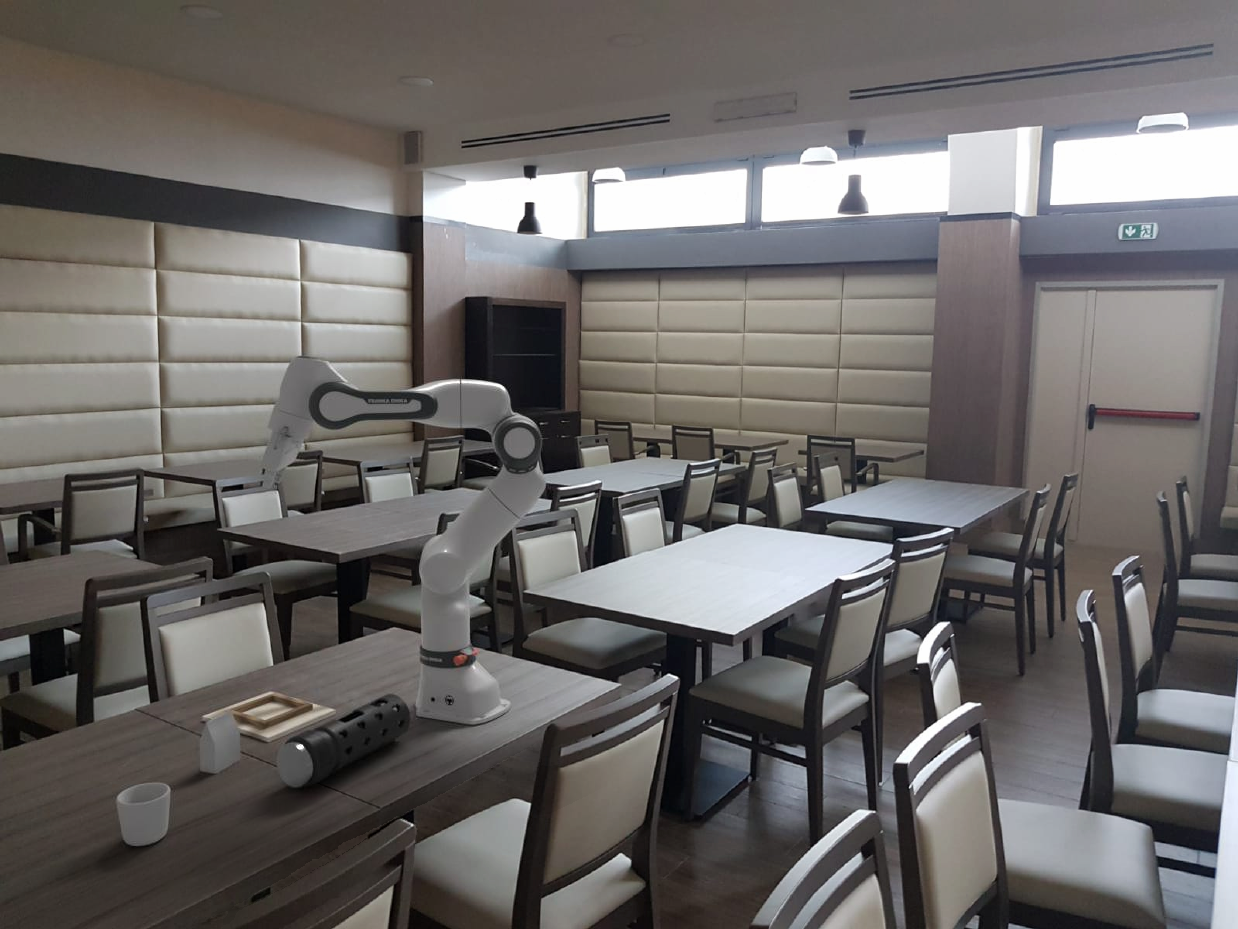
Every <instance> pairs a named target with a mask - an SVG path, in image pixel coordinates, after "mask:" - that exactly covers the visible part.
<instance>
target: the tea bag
mask: <svg viewBox="0 0 1238 929" xmlns="http://www.w3.org/2000/svg"><path fill="white" fill-rule="evenodd" d="M198 744H199V765H200V766H199V767H200V772H203V773H209V774H216V773H217V774H219V773H220V772H221V771H224V770H225V769H227V768H229V767H231V766H232V765H234V764H236V763H237V761H238V762H240V761H241V759H242V755H241V754H242V752H241V733H240V731H239V728H238V726H237V724H236V721H235V719H234V716H233V713H232V711H228V712H226V713H224V714H222V715H220V716H218V717H216V718H214V719H212V720H210V721H208V722H204V727H203V730H202V735H201V737H200V739H199V743H198ZM233 763H234V764H233Z"/></svg>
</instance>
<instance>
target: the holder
mask: <svg viewBox="0 0 1238 929" xmlns="http://www.w3.org/2000/svg"><path fill="white" fill-rule="evenodd" d="M228 711H232V713H233V716H234V719H235V721H236V724H237V726H238V728H239V731H240V734H243V735H245V736H249V737H251V736H252V738H254V739H257V740H260V739H261V740H260V741H264V742H267V743H271V742H273V741H275V740H277V739H280V738H282V737H285V736H287V735H290V734H292V733H294V732H297V731H299V730H301V729H304V728H305V727H308V726H312V725H313V724H315V723H319V722H320V721H323V720H325V719H327V718H329V717H333V716H334V715H337V714H336V712H337V710H336V709H334V708H330V707H327V706H324V705H319V704H316V703H312V702H309V701H306V700H303V699H299V698H295V697H292V696H290V695H289V696H288V695H285V694H281V693H278V692H275V691H268V692H264V693H262V694H259V695H257V696H254V697H251V698H248V699H246V700H243V701H240V702H237V703H235V704H231V705H229V706H227V707H224V708H220V709H218V710H216V711H213V712H211V713H208V714H207V713H206V714H204V715H202V722H204V723H206V722H208V721H210V720H212V719H214V718H216V717H218V716H220V715H222V714H224V713H226V712H228Z"/></svg>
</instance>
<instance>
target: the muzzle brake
mask: <svg viewBox="0 0 1238 929" xmlns="http://www.w3.org/2000/svg"><path fill="white" fill-rule="evenodd" d="M394 708H396V710H395V709H394ZM410 726H411V713H410V709H409V707H408V705H407V703H406V702H405V701H404V699H403V698H401V697H400V696H398V694H394V693H389V694H388V693H387V694H385V695H383V696H381V697H379V698H377V699H373V700H372V701H370V702H368V703H365V704H363V705H361V706H360V707H356V708H355V709H353V710H351V711H349V712H346V713H344V714H342V715H340V716H338V717H335V718H334V719H331V720H329V721H327V722H325V723H323V724H321V725H319V726H316V727H315V728H313V729H307V730H305V731H302V732H300V733H298V734H296V735H294V736H292V737H290V738H288V739H287V740H286V741H285V743H284V744H283V745H282V746H281V747H280V748H279V749H278V751H277V753H276V756H275V757H276V758H275V764H276V765H275V766H276V769H277V772H278V775H279V777H280V778H281V780H282V781H283V782H284V783H285V784H286V785H287V786H288V787H290V788H294V789H297V788H301V787H311V786H312V785H315V784H316V783H319V782H322V781H324V780H326V779H327V778H330V777H332V776H333V775H334V773H335V772H337V770H339V769H341V768H343V767H345V766H348V765H349V764H350V763H352V762H357V761H358V760H359V759H360V758H362V757H365V758H366V756H369V755H370V754H371V753H375V752H376V751H378V750H381V748H383V747H384V746H386V745H389V744H390V743H392V742H394V741H396V739H398V738H399V737H400V736H403V735H404V734H406V733H407V731H408V730H409V728H410Z"/></svg>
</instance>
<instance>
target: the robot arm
mask: <svg viewBox="0 0 1238 929" xmlns="http://www.w3.org/2000/svg"><path fill="white" fill-rule="evenodd" d="M278 395H279V396H278V398H277V401H276V402H275V403H274V406H273V408H272V411H271V415H270V416H269V420H268V424H267V428H268V429H270V430H271V435H270V437H269V440H268V442H267V445H266V448H265V449H264V450H265V451H264V453H263V456H262V459H261V462H260V467H261V468H262V469H264V475H263V482H262V485H261V487H262V488H263V489H266V490H270V489H271V488H273V484H280V482H281V481H282V478H283V475H284V474H285V472H286V470H287V468H288V466H289V465H291V464H293V463H294V462H296V461H295V460H296V459H297V456H298V455H299V452H300V450H301V448H302V445H303V443H304V440H308V439H309V437H310V434H311V431H312V428H313V425H314V423H316V424H317V425H318V426H320V427H321V428H324V429H326V430H330V431H337V430H342V429H344V428H345V429H346V428H347V427H349V426H351V425H353V424H356V423H359V422H365V421H408V422H409V421H410V422H413V423H414V422H415V423H419V424H424V425H429V426H435V427H441V428H447V429H480V430H484V431H485V432H488V433H489V435H490V440H491V443H492V448H493V451H494V453H495V454H496V455H497V457H499V459H500V461H501V463H502V467H501V469H500V472H499V473H498V474H497V476H495V478H493V480H491V482H489V483H488V484H487V485H486V487H485V488H483V489H482V491H480V493H478V494H477V495H476V496H475V497H474V498H473V499H472V501H471V502H470V503H469V504H468V505H466V507H465V508H463V510H461V511H460V514H459V515H458V516H457V517H456V519H454V521H453V522H452V523H451V524H450V525H449V526H448V527H447V528H446V530H444V532H443V533H442V534H437V535H435V536H433V537H432V538H430V539H429V540H428V541H427V542H426V543H425V544H424V547H423V549H422V551H421V552H422V553H421V555H420V560H419V566H418V571H419V572H418V573H419V577H420V579H421V595H420V596H421V601H420V604H421V605H420V628H421V634H420V635H421V644H420V645H419V652H418V654H419V655H418V656H419V662H420V663H421V666H420V668H421V669H420V677H419V687H418V692H417V697H416V700H415V704H414V705H415V706H414V707H415V708H416V712H415V714H416V717H420V718H421V717H422V718H426V719H427V718H428V719H433V720H440V721H445V722H453V723H459V724H464V725H480V724H483V723H486V722H489V721H492V720H495V719H496V718H499V717H500V716H502V715H504V714H505V713H507V712H508V711H509V710H510V709H511V706H512V705H511V701H510V700H508V699H504V698H502V697H501V690H500V686H499V682H498V680H496V679H495V677H494V676H492V675H491V674H490V673H489V672H488V671H487V670H486V668H484V667H483V666H482V664H480V663H479V661H477V655H479V654H480V649H479V648H478V649H476V650H474V647H473V644H472V642H471V638H470V637H471V635H470V634H471V631H470V630H471V628H470V626H471V625H470V619H471V618H470V615H471V614H470V610H471V609H470V577H471V576H472V575H473V574H474V573H475V571H476V570H478V568H479V566H481V564H482V563H483V562H484V561H485V560H486V558H488V556H489V555H490V553H491V552H492V551H493V550H494V548H495V547H496V546H497V545H498V544H499V543H500V542H501V541H502V540H503V539H504V538H505V537H506V536H507V535H508V533H510V531H512V530H513V529H514V527H516V525H518V524H519V522H520V521H521V520H523V518H524V517H526V515H527V514H528V513H529V512H530V511H531V510H532V509H533V507H534V506H535V504H537V502H538V501H539V499H540V497H541V496H543V495H542V494H544V491H545V489H546V486H547V481H546V478H545V475H544V474H543V472H542V470H541V469H540V468H539V467H538V463H539V459H540V456H541V452H542V448H543V435H542V432H541V431H540V428H539V427H538V426H537V424H536V423H535V422H534V420H532V419H530V418H529V417H527V416H524V415H523V414H520V413H519V412H516V411H515V410H513V409H512V406H511V405H512V404H511V397H510V395H509V392H508V390H507V388H506V387H505V386H503V385H502V384H500V383H497V382H493V381H487V380H481V379H479V380H477V379H470V378H469V379H466V378H465V379H463V378H461V379H460V378H451V379H445V380H443V379H442V380H435V381H431V382H427V383H425V384H422V385H419V386H415V387H412V388H409V389H403V390H402V389H401V390H361V389H359V388H358V387H357V386H356V385H354V384H353V383H351V382H350V381H348V380H347V379H346V378H344V377H343V376H342V375H341V374H340V373H339V372H338V371H336V369H335V368H334V367H333V366H332V364H331V363H330V361H329V360H327V359H326V358H323V357H317V356H310V355H303V354H302V355H297V356H295V357H294V358H292V360H290V362H289V364H288V366H287V368H286V370H285V372H284V375H283V378H282V380H281V383H280V386H279V394H278Z"/></svg>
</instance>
